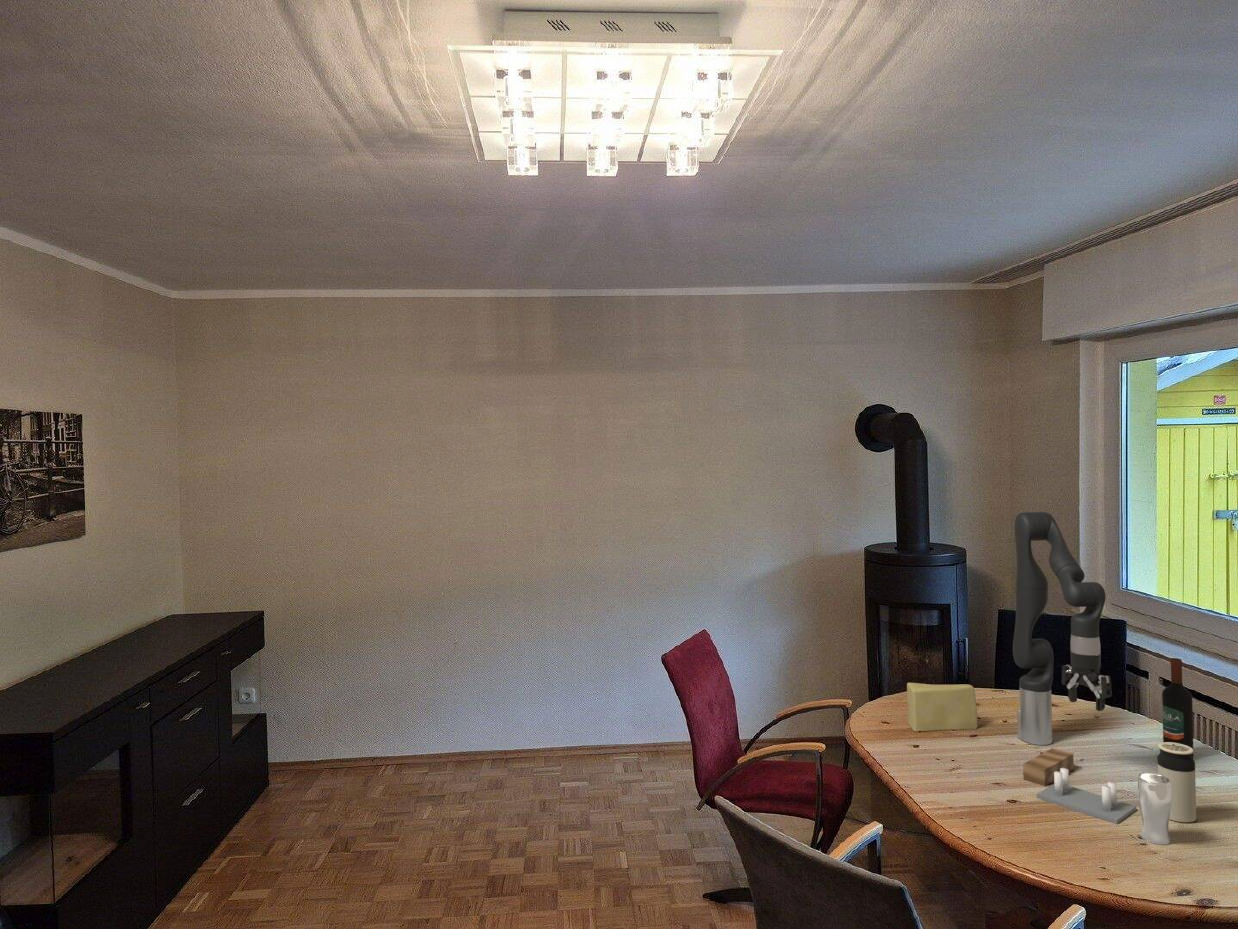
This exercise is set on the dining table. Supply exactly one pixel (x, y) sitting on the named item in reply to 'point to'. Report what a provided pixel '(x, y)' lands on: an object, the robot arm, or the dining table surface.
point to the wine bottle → (1177, 709)
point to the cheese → (941, 707)
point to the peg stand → (1086, 799)
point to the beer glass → (1155, 807)
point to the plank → (1047, 766)
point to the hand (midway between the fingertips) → (1086, 706)
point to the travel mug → (1179, 779)
